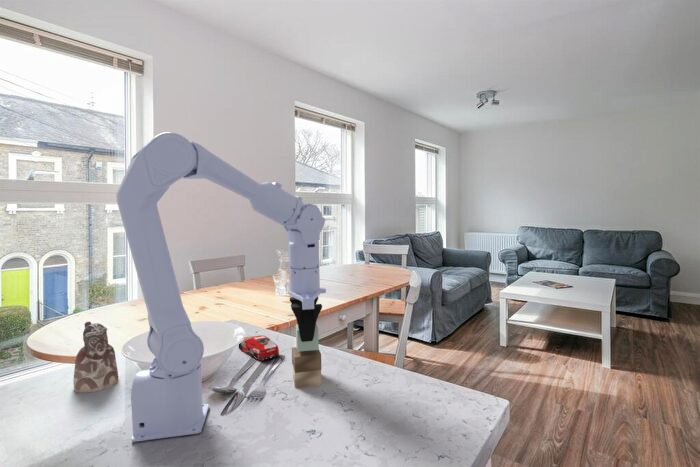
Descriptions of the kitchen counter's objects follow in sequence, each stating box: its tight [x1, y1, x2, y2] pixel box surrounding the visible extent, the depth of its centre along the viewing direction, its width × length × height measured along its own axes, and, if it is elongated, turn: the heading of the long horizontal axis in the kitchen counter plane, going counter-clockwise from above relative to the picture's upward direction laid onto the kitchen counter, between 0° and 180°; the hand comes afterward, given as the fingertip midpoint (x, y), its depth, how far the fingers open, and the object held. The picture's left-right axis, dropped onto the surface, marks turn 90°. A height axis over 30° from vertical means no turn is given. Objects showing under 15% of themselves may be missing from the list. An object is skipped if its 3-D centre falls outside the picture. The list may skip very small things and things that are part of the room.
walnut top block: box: [291, 346, 322, 373], centre depth 72 cm, size 5×5×3 cm
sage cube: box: [295, 323, 320, 352], centre depth 72 cm, size 4×4×4 cm
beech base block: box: [292, 367, 322, 388], centre depth 72 cm, size 5×5×3 cm
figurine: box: [72, 321, 119, 393], centre depth 72 cm, size 7×7×12 cm
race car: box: [238, 334, 280, 361], centre depth 87 cm, size 13×5×4 cm, turn 40°
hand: (305, 336), depth 72 cm, fingers closed on sage cube, 4 cm apart
